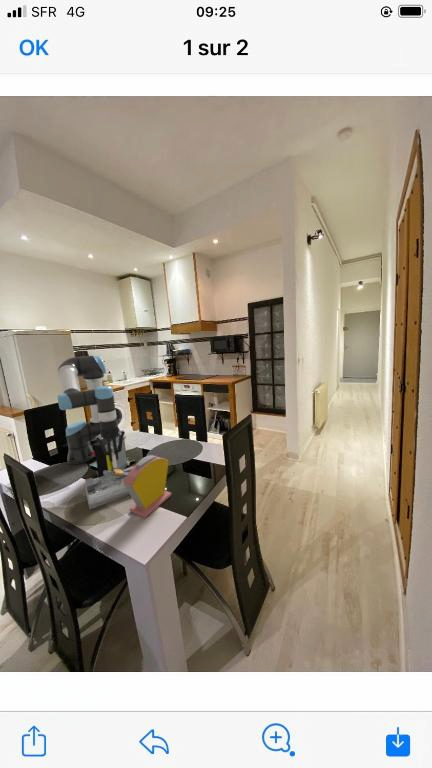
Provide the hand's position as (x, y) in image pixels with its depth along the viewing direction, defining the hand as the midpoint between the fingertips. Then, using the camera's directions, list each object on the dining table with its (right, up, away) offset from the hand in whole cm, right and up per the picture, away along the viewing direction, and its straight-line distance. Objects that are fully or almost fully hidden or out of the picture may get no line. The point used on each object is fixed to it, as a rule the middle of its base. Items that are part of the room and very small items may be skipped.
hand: (115, 466), depth 119 cm
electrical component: (-8, -10, +20) cm, 24 cm away
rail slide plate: (0, -13, +2) cm, 13 cm away
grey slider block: (-8, -10, -4) cm, 13 cm away
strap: (+2, -5, +2) cm, 5 cm away
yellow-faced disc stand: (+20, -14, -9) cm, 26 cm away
